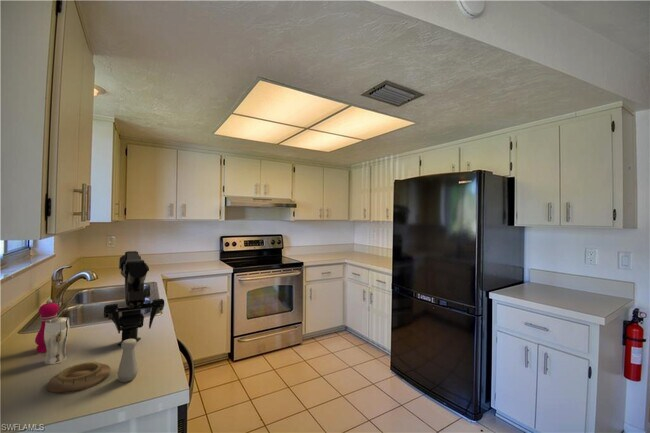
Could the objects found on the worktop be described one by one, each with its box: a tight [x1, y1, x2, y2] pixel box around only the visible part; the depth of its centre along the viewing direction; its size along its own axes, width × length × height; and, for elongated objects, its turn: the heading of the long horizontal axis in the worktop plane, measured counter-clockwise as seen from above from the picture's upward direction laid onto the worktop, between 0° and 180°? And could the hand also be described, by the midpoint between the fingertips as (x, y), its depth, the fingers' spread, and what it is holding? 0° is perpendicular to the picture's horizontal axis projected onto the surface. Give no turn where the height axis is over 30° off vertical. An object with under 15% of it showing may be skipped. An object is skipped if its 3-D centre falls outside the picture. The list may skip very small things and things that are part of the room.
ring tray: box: [46, 361, 111, 395], centre depth 97 cm, size 16×16×3 cm
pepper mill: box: [34, 298, 60, 354], centre depth 117 cm, size 7×7×20 cm
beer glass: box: [44, 316, 71, 365], centre depth 108 cm, size 7×7×15 cm
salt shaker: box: [117, 339, 139, 383], centre depth 98 cm, size 6×6×13 cm
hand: (135, 330), depth 105 cm, fingers open, 9 cm apart
